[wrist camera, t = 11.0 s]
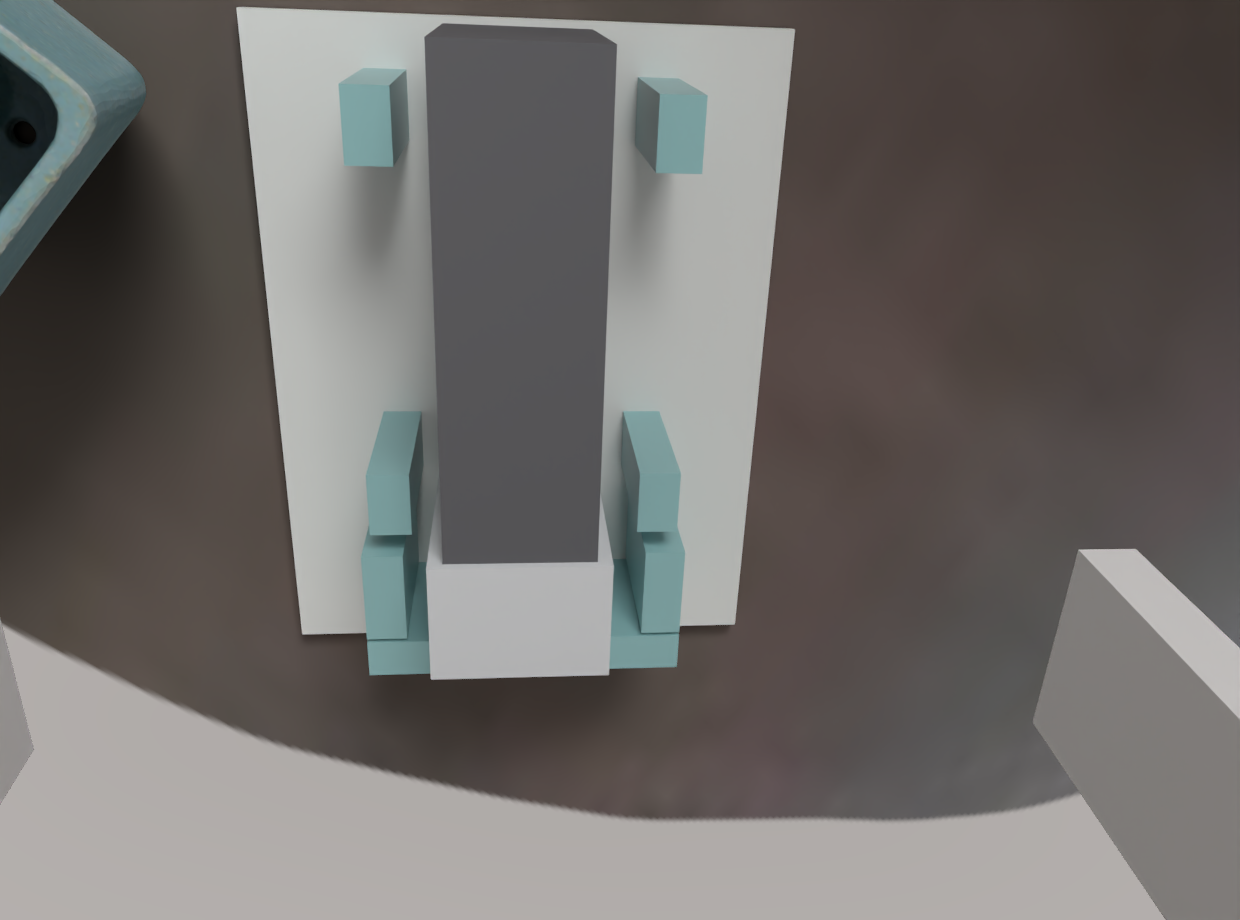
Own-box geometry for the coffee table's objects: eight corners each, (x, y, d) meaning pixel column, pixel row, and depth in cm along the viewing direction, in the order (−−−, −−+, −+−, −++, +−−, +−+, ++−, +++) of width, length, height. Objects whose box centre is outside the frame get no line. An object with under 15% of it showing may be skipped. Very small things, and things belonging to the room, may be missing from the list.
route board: (241, 6, 24) (187, 12, 20) (789, 28, 26) (843, 38, 21) (305, 624, 31) (274, 721, 27) (731, 615, 33) (763, 706, 29)
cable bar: (427, 22, 24) (403, 36, 19) (607, 30, 25) (637, 45, 19) (444, 548, 30) (430, 679, 24) (589, 546, 30) (608, 675, 25)
